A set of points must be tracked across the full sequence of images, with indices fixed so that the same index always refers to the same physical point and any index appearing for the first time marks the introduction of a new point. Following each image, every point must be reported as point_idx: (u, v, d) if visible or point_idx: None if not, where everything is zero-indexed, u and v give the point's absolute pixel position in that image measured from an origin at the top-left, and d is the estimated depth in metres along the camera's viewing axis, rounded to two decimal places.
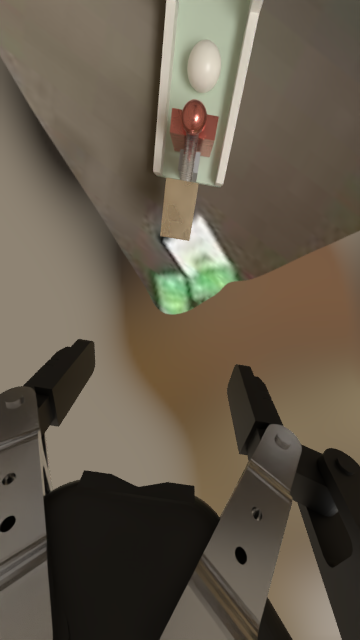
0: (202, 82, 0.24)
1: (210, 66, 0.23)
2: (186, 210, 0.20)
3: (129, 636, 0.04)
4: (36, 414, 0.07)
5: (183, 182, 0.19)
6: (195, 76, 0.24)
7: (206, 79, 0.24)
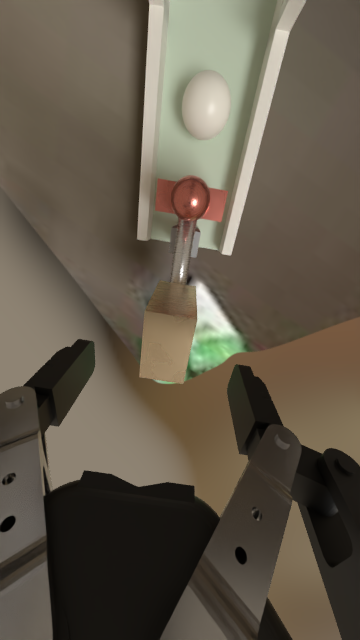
0: (203, 130, 0.17)
1: (215, 109, 0.16)
2: (177, 351, 0.13)
3: (129, 636, 0.04)
4: (36, 414, 0.07)
5: (172, 317, 0.12)
6: (193, 121, 0.16)
7: (209, 126, 0.16)
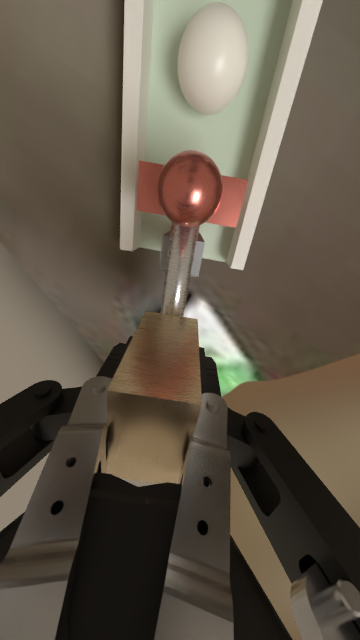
0: (208, 96, 0.12)
1: (226, 62, 0.11)
2: (168, 446, 0.07)
3: (129, 636, 0.04)
4: None
5: (157, 401, 0.06)
6: (193, 83, 0.11)
7: (217, 90, 0.11)
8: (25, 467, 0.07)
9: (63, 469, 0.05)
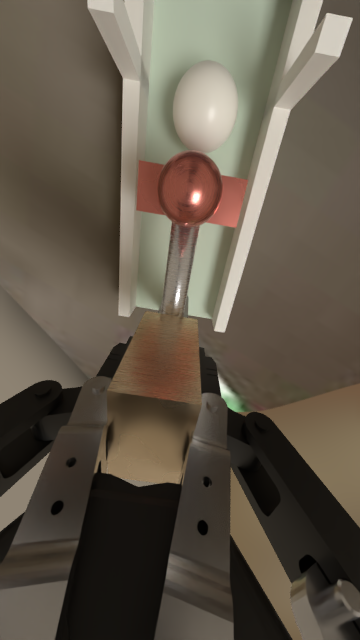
0: (213, 62, 0.11)
1: None
2: (168, 446, 0.07)
3: (129, 636, 0.04)
4: None
5: (157, 401, 0.06)
6: None
7: (221, 65, 0.11)
8: (25, 467, 0.07)
9: (63, 469, 0.05)
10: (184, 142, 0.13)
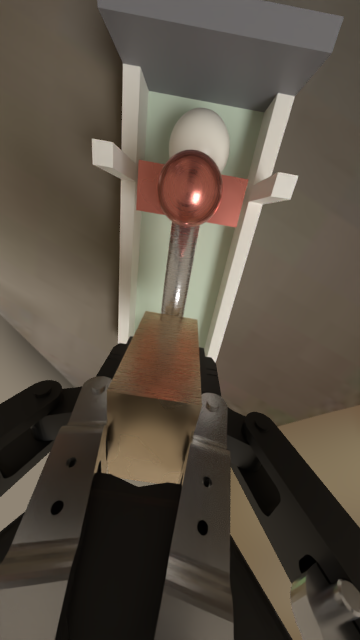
0: None
1: None
2: (168, 447, 0.07)
3: (129, 636, 0.04)
4: None
5: (157, 401, 0.06)
6: None
7: None
8: (25, 467, 0.07)
9: (63, 469, 0.05)
10: (183, 135, 0.12)
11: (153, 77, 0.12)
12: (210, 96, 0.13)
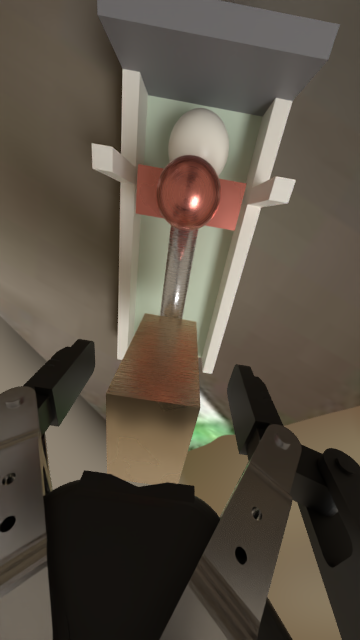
0: None
1: None
2: (167, 449, 0.08)
3: (129, 636, 0.04)
4: (36, 414, 0.07)
5: (156, 404, 0.07)
6: None
7: None
8: None
9: (1, 489, 0.05)
10: (183, 132, 0.12)
11: (152, 82, 0.12)
12: (209, 100, 0.13)
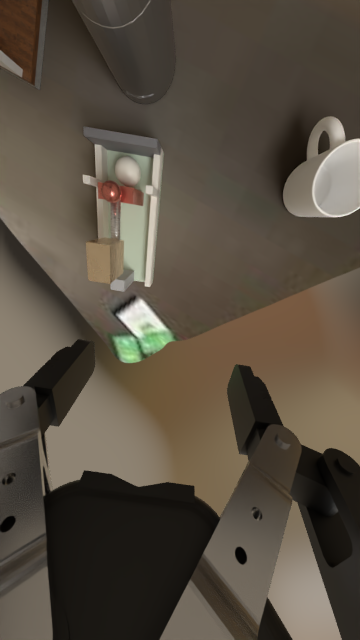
0: None
1: None
2: (104, 263, 0.27)
3: (129, 636, 0.04)
4: (36, 414, 0.07)
5: (98, 244, 0.26)
6: None
7: None
8: None
9: (1, 489, 0.05)
10: (118, 164, 0.31)
11: (107, 147, 0.32)
12: (131, 153, 0.32)
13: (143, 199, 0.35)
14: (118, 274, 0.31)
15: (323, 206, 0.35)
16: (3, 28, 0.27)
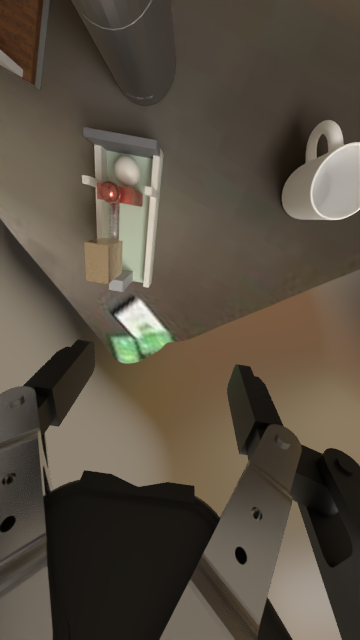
0: None
1: None
2: (102, 263, 0.27)
3: (129, 636, 0.04)
4: (36, 414, 0.07)
5: (97, 245, 0.26)
6: None
7: None
8: None
9: (1, 489, 0.05)
10: (118, 163, 0.31)
11: (106, 148, 0.32)
12: (131, 153, 0.33)
13: (142, 200, 0.35)
14: (116, 274, 0.31)
15: (321, 209, 0.35)
16: (4, 28, 0.27)
